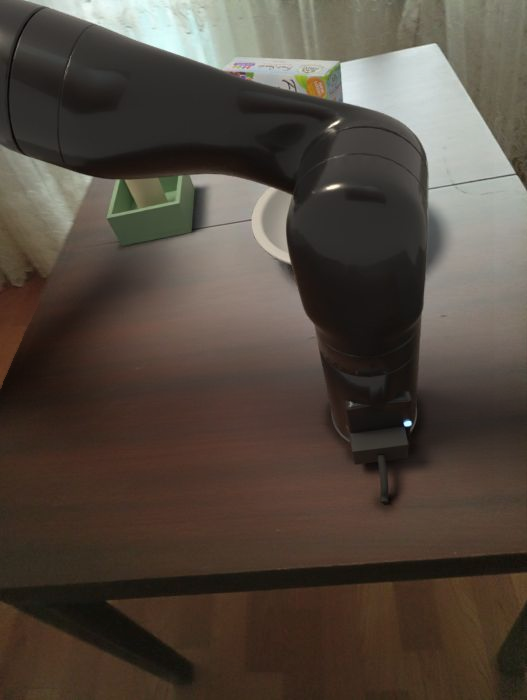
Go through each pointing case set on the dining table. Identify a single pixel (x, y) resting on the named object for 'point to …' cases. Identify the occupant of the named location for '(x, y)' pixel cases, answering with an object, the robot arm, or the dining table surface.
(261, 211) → the soup bowl
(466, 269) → the dining table surface
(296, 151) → the robot arm
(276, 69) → the snack box
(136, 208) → the bin
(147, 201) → the canister
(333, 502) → the dining table surface
